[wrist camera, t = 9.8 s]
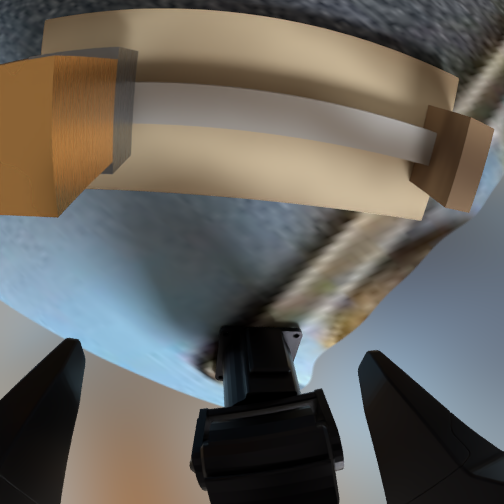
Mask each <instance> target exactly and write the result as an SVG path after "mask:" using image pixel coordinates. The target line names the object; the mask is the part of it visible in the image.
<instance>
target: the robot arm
mask: <svg viewBox="0 0 504 504" xmlns="http://www.w3.org/2000/svg"><path fill="white" fill-rule="evenodd" d="M224 332H228V333H224ZM295 334H296V335H295ZM301 338H302V331H301V329H299V328H266V327H237V326H224V327H222V328H221V329H220V332H219V342H218V352H217V361H216V371H215V378H216V379H217V380H220V381H223V386H224V405H225V407H223V408H216V409H208V408H206V409H200V412H199V418H198V419H197V424H196V431H195V436H194V443H193V449H192V455H191V461H190V469H191V470H192V471H193V472H194V473H195V474H196V477H197V480H198V483H199V485H200V487H201V488H202V490H204V491H208V495H209V499H210V502H211V504H339V493H338V486H337V480H336V473H335V471H338V470H342V469H343V468H344V457H343V450H342V445H341V440H340V436H339V433H338V429H337V427H336V423H335V421H334V418H333V416H332V413H331V410H330V408H329V405H328V403H327V400H326V398H325V395H324V393H323V390H322V389H317V390H314V391H313V392H309V393H304V394H301V392H300V388H299V384H298V380H297V375H296V371H295V367H294V363H293V361H294V359H295V356H296V353H297V350H298V347H299V344H300V341H301ZM84 369H85V355H84V352H83V349H82V346H81V343H80V341H79V340H78V339H74V338H66V339H65V340H64V341H62V342H61V343H60V344H59V345H58V346H57V347H56V348H55V349H54V350H53V351H52V352H50V353H49V354H48V355H47V356H46V357H45V358H44V359H43V360H42V361H41V362H40V363H38V364H37V366H35V367H34V368H33V369H32V370H31V371H30V372H29V373H28V374H27V375H26V376H25V377H24V378H23V379H21V380H20V382H18V383H17V384H16V385H15V386H14V387H13V388H12V389H11V390H10V391H9V392H8V393H7V394H6V395H5V396H4V397H3V398H2V399H1V400H0V504H60V503H61V495H62V488H63V483H64V477H65V471H66V465H67V460H68V455H69V449H70V445H71V439H72V435H73V431H74V426H75V421H76V418H77V413H78V409H79V403H80V396H81V388H82V382H83V375H84ZM358 376H359V382H360V388H361V394H362V400H363V405H364V406H363V407H364V412H365V416H366V420H367V423H368V427H369V431H370V435H371V438H372V442H373V446H374V450H375V454H376V458H377V462H378V466H379V470H380V475H381V479H382V483H383V487H384V491H385V496H386V501H387V504H504V451H502V450H500V449H498V448H497V447H495V446H494V445H493V444H491V443H490V442H488V441H487V440H486V439H484V438H483V437H481V436H480V435H479V434H477V433H476V432H475V431H473V430H472V429H470V428H469V427H468V426H467V425H465V424H464V423H463V422H462V421H461V420H459V419H458V418H457V417H456V416H455V415H454V414H452V413H450V411H449V410H448V409H447V408H445V407H444V406H443V405H442V404H441V403H440V402H438V401H437V400H436V399H435V398H434V397H433V396H432V395H430V394H429V393H428V392H427V391H426V390H425V389H424V388H422V387H421V386H420V385H419V384H418V383H417V382H415V381H414V380H413V379H412V378H411V377H410V376H409V375H407V374H406V373H405V372H404V371H403V370H402V369H400V368H399V367H398V366H397V365H396V364H394V363H393V362H392V361H391V360H390V359H389V358H388V357H386V356H385V355H384V354H383V353H382V352H380V351H378V350H373V351H368V352H366V354H365V356H364V358H363V360H362V362H361V364H360V365H359V368H358Z"/></svg>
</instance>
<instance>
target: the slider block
mask: <svg viewBox="0 0 504 504" xmlns="http://www.w3.org/2000/svg"><path fill="white" fill-rule="evenodd" d="M138 52H139V51H135V50H131V49H127V48H123V47H104V48H91V49H81V50H72V51H63V52H56V53H49V54H43V55H37V56H31V57H29V60H25V61H19V62H14V63H10V64H5V65H1V66H0V215H16V216H39V217H59V216H60V215H61V214H62V213H63V211H64V210H65V209H66V208H67V207H68V206H69V205H70V204H71V203H72V202H73V201H74V200H75V199H76V198H77V197H78V196H79V195H80V194H81V193H82V192H83V190H84V189H85V188H86V187H87V186H88V185H89V184H90V183H91V182H92V181H93V180H94V179H96V178H97V177H98V176H99V175H100V174H114V172H115V171H116V170H117V169H118V168H119V167H120V166H121V165H122V164H123V163H124V162H125V161H126V160H127V159H128V158H129V157H130V156H131V145H132V122H133V105H134V92H135V80H136V70H137V60H138Z"/></svg>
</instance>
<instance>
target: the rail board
mask: <svg viewBox="0 0 504 504" xmlns="http://www.w3.org/2000/svg"><path fill="white" fill-rule="evenodd" d="M104 47H123V48H127V49H131V50H135V51H139V52H138V60H137V70H136V80H135V92H134V105H133V122H132V145H131V156H130V157H129V158H128V159H127V160H126V161H125V162H124V163H123V164H122V165H121V166H120V167H119V168H118V169H117V170H116V171H115V172H114V174H100V175H99V176H98V177H97V178H96V179H94V180H93V181H92V182H91V183H90V184H89V185H88V186H87V187H86V188H85V189H108V190H131V191H150V192H166V193H182V194H196V195H209V196H221V197H233V198H244V199H255V200H265V201H275V202H285V203H294V204H303V205H311V206H320V207H328V208H336V209H344V210H352V211H359V212H367V213H374V214H381V215H388V216H394V217H401V218H408V219H414V220H420V221H421V219H422V217H423V214H424V211H425V208H426V205H427V202H428V199H429V196H431V197H432V198H433V199H435V200H436V201H437V202H439V203H440V204H441V205H443V206H444V207H445V208H450V209H455V210H459V211H464V212H468V213H469V211H470V209H471V206H472V203H473V200H474V197H475V194H476V191H477V188H478V185H479V182H480V179H481V176H482V173H483V169H484V166H485V162H486V159H487V155H488V152H489V148H490V144H491V140H492V136H493V132H494V129H493V128H491V127H489V126H487V125H485V124H483V123H481V122H479V121H477V120H475V119H473V118H471V117H468V116H465V115H461V114H458V113H455V112H452V111H453V106H454V101H455V96H456V91H457V86H458V80H459V78H457V77H455V76H453V75H451V74H449V73H447V72H445V71H443V70H441V69H439V68H436V67H434V66H432V65H430V64H427V63H425V62H423V61H420V60H418V59H416V58H413V57H411V56H408V55H406V54H403V53H401V52H398V51H395V50H393V49H390V48H387V47H384V46H381V45H378V44H376V43H373V42H370V41H366V40H363V39H360V38H357V37H354V36H350V35H347V34H343V33H340V32H336V31H332V30H328V29H324V28H320V27H316V26H312V25H307V24H303V23H298V22H293V21H288V20H283V19H277V18H271V17H265V16H259V15H252V14H244V13H235V12H226V11H214V10H199V9H129V10H114V11H103V12H93V13H85V14H78V15H71V16H65V17H59V18H53V19H48V20H45V25H44V33H43V41H42V50H41V55H43V54H49V53H56V52H63V51H72V50H81V49H91V48H104ZM25 60H29V58H28V59H23V60H18V61H13V62H9V63H4V64H0V66H1V65H5V64H10V63H14V62H19V61H25Z"/></svg>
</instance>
